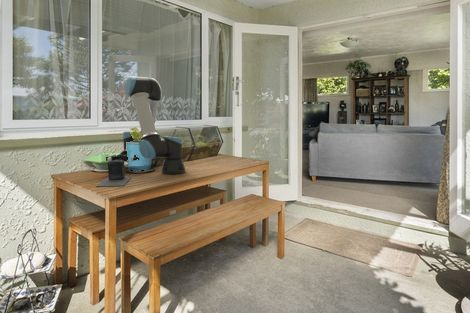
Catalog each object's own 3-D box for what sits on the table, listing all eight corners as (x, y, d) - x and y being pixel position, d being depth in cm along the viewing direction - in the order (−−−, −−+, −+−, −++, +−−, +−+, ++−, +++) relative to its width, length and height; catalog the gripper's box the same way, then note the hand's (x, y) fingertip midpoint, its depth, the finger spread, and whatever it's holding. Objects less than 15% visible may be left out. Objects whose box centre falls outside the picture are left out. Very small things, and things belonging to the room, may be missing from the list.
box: (125, 177, 185) (124, 159, 183) (122, 179, 179) (121, 161, 177) (111, 178, 184) (110, 160, 182) (108, 180, 178) (107, 161, 176)
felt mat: (131, 178, 186) (130, 177, 186) (124, 186, 167) (124, 185, 167) (106, 178, 184) (106, 177, 184) (96, 187, 165) (96, 186, 165)
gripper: (146, 160, 212) (141, 166, 192) (107, 161, 209) (98, 167, 188) (145, 149, 211) (141, 153, 190) (107, 150, 208) (97, 154, 187)
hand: (120, 160), depth 189 cm, fingers open, 13 cm apart
